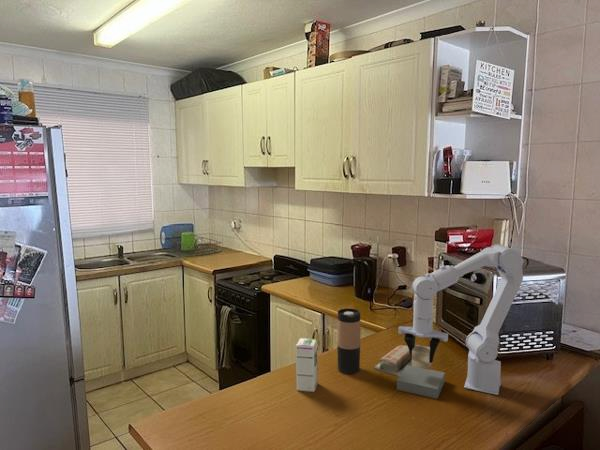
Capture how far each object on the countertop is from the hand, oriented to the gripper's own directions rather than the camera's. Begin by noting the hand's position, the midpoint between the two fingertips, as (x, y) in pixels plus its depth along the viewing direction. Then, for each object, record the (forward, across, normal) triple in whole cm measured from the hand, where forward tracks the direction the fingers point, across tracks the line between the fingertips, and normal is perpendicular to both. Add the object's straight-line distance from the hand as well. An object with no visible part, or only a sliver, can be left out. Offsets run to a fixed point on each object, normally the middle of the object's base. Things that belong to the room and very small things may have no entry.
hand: (421, 359), depth 132 cm
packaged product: (+9, -10, +12) cm, 19 cm away
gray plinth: (+8, 0, 0) cm, 8 cm away
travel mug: (+9, -24, 0) cm, 25 cm away
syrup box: (+9, -31, -17) cm, 36 cm away
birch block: (+2, 0, 0) cm, 2 cm away
